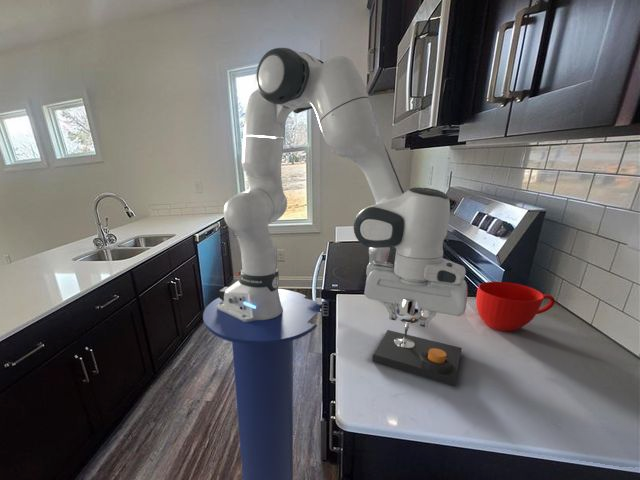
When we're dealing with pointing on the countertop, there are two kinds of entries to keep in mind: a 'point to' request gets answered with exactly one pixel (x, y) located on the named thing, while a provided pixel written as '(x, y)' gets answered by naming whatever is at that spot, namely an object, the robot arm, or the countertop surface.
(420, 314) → the wineglass
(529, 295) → the ceramic cup
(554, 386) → the countertop surface
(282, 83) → the robot arm
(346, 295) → the countertop surface
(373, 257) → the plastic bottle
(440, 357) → the button
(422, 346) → the dark grey button box
